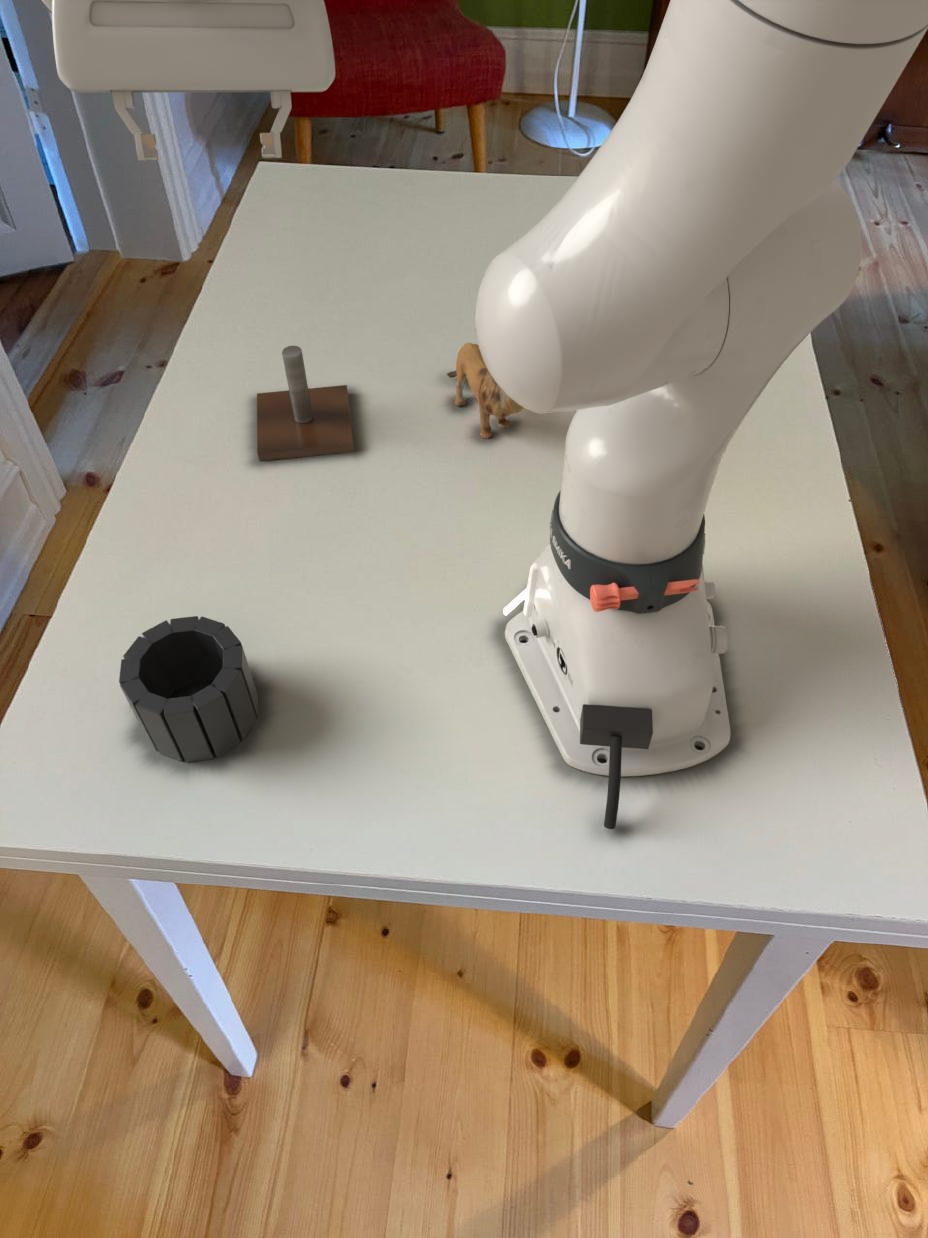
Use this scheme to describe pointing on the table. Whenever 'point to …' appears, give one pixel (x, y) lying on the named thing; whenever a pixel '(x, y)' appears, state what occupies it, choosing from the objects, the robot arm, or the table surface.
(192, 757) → the dark grey grooved ring
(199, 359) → the table surface
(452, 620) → the table surface
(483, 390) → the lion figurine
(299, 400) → the peg stand
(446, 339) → the table surface
